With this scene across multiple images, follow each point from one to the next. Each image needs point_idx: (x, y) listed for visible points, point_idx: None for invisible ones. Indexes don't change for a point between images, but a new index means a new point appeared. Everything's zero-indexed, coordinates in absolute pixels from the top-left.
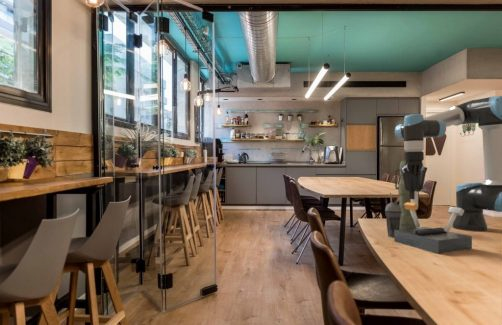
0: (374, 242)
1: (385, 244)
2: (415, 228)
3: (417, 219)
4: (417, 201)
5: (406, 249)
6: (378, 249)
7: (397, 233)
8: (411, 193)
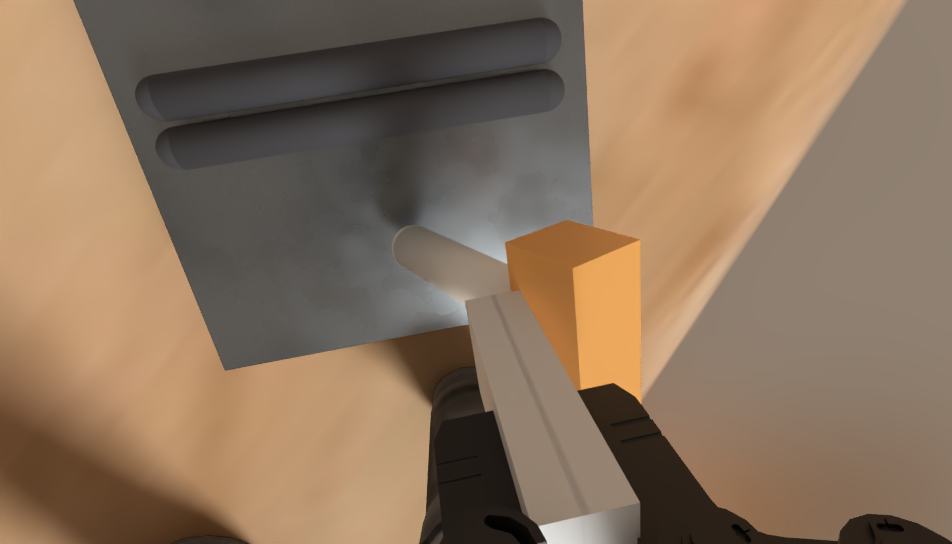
0: (714, 260)
1: (689, 192)
2: (375, 315)
3: (445, 246)
4: (498, 347)
5: (663, 10)
6: (841, 68)
7: None
8: (694, 494)
